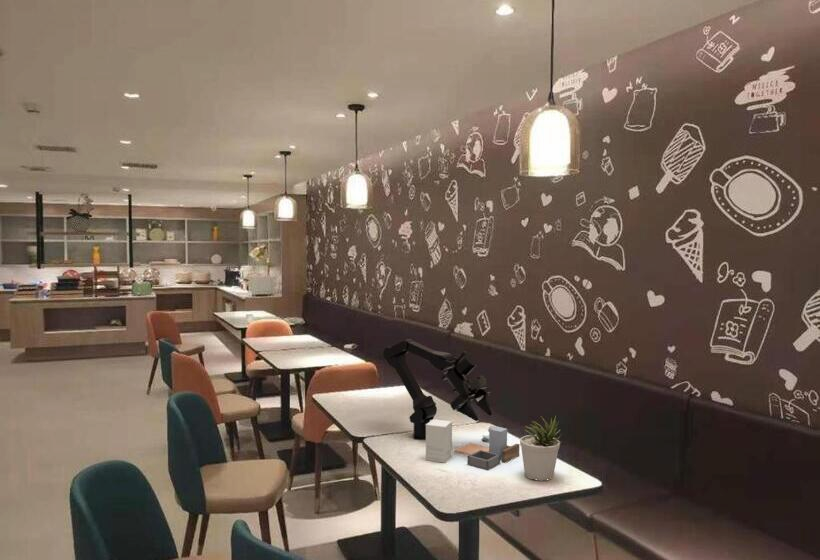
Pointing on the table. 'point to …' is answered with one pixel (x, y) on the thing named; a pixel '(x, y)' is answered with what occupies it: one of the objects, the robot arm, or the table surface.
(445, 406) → the table surface
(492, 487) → the table surface
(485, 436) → the pacifier
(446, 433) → the supplement box
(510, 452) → the walnut bracket
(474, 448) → the pad
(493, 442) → the slate block
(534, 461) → the potted plant
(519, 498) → the table surface
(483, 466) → the dark grey open box
